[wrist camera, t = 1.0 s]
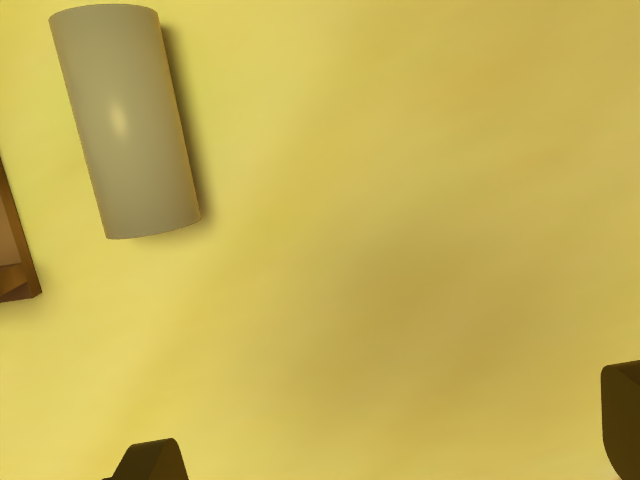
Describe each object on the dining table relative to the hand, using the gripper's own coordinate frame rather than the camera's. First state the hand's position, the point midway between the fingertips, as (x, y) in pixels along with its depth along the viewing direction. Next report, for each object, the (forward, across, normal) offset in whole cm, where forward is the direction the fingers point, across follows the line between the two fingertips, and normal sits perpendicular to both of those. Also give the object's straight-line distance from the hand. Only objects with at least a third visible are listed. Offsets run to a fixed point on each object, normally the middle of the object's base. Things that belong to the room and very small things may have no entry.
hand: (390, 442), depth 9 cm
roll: (+21, +10, -7) cm, 25 cm away
